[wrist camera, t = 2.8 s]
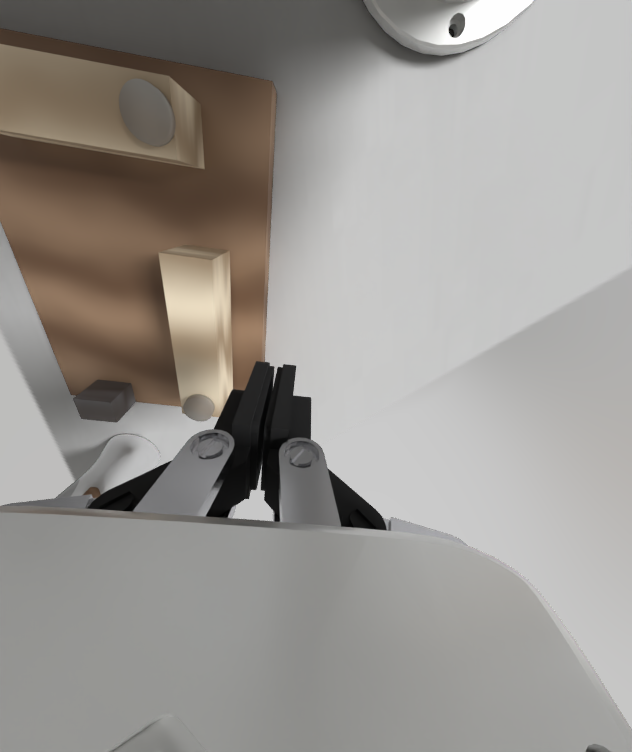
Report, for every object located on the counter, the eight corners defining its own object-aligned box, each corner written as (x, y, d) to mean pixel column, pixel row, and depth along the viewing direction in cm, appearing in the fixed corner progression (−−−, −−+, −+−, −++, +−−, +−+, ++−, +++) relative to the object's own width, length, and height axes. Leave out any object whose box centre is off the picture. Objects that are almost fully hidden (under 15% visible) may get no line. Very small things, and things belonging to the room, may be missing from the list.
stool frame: (-41, 33, 16) (-243, -65, 10) (276, 93, 17) (257, 37, 11) (85, 383, 28) (28, 427, 22) (262, 402, 29) (250, 449, 24)
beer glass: (91, 442, 32) (-55, 595, 20) (134, 422, 31) (6, 575, 18) (135, 477, 36) (35, 627, 23) (176, 460, 34) (94, 612, 21)
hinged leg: (233, 390, 26) (218, 423, 22) (200, 386, 25) (179, 419, 22) (229, 250, 19) (207, 261, 16) (186, 244, 19) (153, 254, 15)
